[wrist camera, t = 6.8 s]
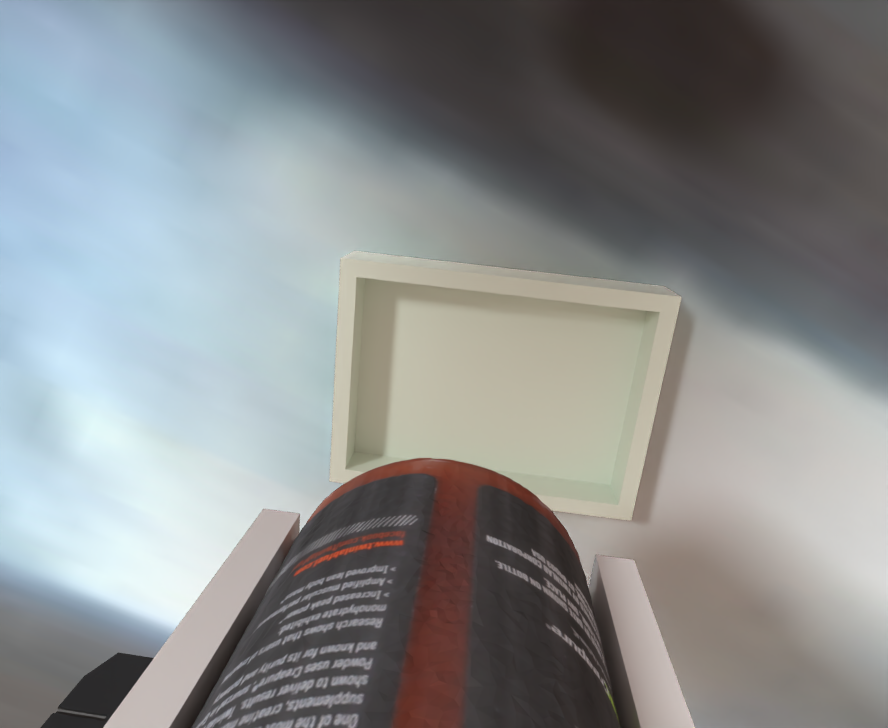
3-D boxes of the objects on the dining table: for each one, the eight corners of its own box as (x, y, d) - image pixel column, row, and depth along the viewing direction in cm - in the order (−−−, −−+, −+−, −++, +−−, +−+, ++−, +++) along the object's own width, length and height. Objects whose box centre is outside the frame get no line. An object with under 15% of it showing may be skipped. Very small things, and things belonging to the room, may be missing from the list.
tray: (342, 456, 34) (329, 481, 31) (354, 250, 30) (340, 257, 28) (619, 492, 33) (631, 520, 30) (664, 285, 30) (681, 296, 27)
